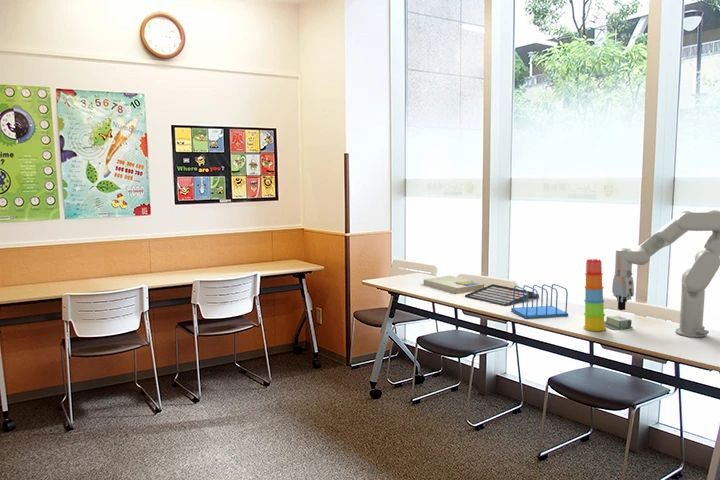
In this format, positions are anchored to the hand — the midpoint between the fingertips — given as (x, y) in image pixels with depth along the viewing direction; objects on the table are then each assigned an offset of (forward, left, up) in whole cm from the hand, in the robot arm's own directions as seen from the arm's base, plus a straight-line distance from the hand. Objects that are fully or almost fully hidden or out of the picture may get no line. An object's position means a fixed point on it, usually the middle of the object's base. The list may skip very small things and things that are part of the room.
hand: (621, 309), depth 286 cm
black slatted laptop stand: (+79, +18, -10) cm, 82 cm away
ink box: (-3, 0, -7) cm, 8 cm away
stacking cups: (+2, +14, -9) cm, 17 cm away
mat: (+4, +1, -9) cm, 10 cm away
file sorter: (+38, +21, -10) cm, 44 cm away
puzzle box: (+118, +31, -10) cm, 123 cm away
